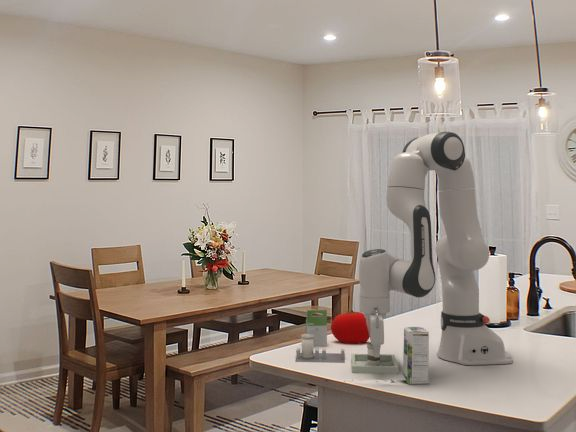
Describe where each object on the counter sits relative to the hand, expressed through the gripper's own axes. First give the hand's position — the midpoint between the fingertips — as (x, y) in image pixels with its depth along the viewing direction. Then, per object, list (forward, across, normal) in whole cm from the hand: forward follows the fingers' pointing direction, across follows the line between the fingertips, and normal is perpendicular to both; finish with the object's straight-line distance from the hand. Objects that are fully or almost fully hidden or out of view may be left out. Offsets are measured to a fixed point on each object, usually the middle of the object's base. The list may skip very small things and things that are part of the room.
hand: (375, 352), depth 167 cm
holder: (+5, +8, +16) cm, 19 cm away
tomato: (+6, +30, +6) cm, 31 cm away
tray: (+5, 0, 0) cm, 5 cm away
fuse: (+5, 0, +1) cm, 5 cm away
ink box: (+6, +23, +18) cm, 30 cm away
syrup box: (+6, -9, -10) cm, 15 cm away
